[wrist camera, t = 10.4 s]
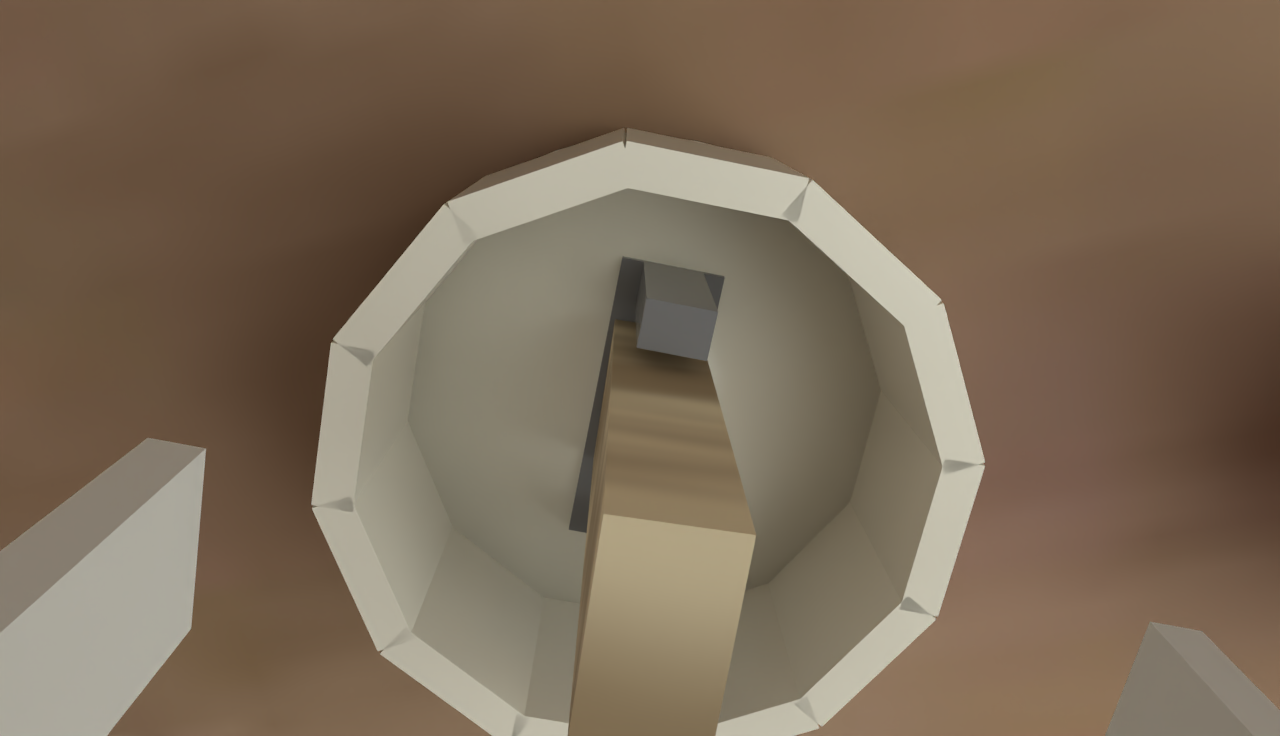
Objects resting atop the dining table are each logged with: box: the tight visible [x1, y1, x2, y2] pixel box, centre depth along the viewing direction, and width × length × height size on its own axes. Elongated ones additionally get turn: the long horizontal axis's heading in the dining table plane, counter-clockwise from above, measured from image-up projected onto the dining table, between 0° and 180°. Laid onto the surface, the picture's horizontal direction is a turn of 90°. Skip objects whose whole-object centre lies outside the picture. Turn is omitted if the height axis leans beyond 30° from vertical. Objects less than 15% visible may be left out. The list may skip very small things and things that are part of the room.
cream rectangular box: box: [568, 319, 756, 736], centre depth 19 cm, size 4×2×11 cm, turn 171°
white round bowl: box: [311, 128, 985, 736], centre depth 22 cm, size 13×13×6 cm
